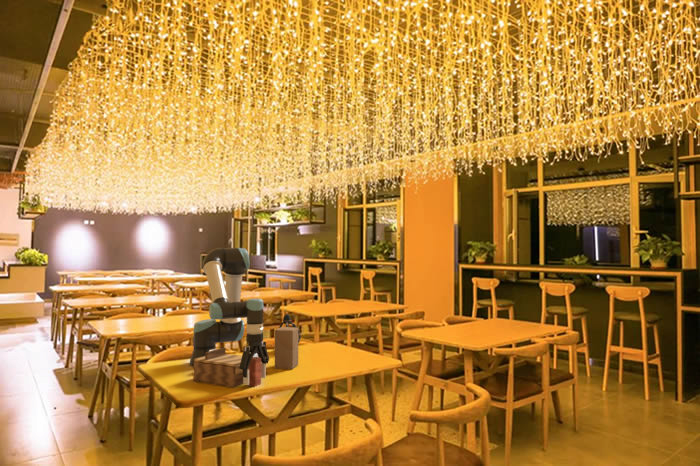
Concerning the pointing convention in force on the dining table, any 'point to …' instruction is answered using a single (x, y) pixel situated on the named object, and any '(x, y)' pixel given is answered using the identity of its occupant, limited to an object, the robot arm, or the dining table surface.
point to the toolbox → (217, 374)
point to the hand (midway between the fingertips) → (254, 380)
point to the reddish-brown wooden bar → (255, 371)
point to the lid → (222, 359)
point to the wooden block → (286, 347)
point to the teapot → (288, 321)
